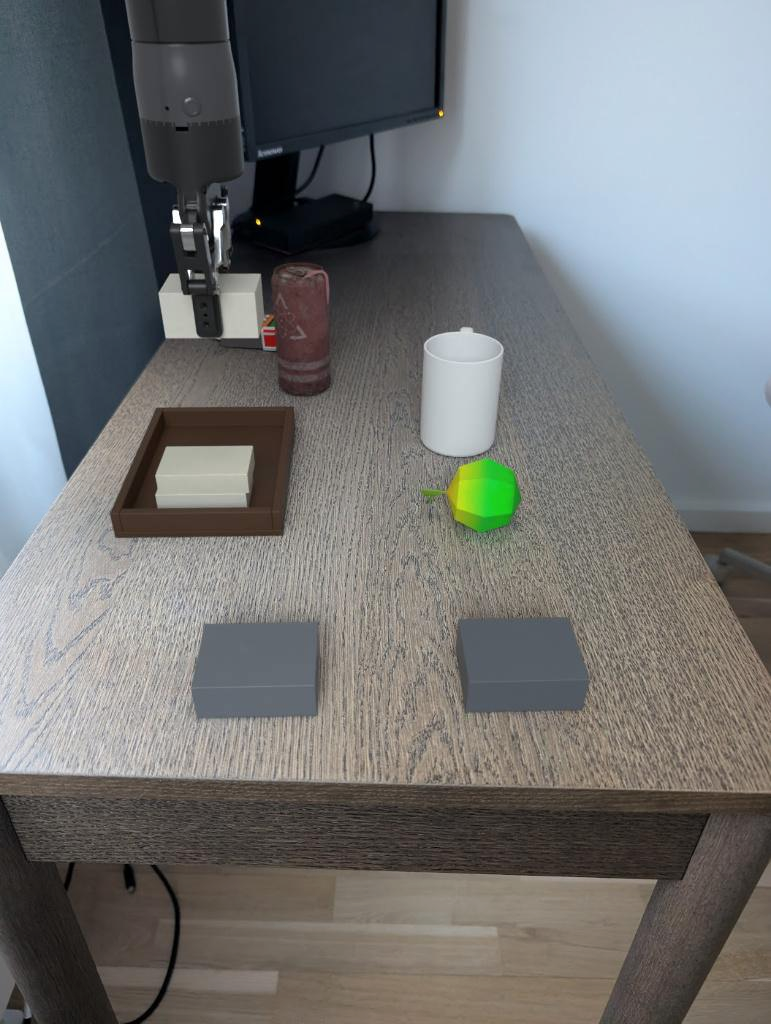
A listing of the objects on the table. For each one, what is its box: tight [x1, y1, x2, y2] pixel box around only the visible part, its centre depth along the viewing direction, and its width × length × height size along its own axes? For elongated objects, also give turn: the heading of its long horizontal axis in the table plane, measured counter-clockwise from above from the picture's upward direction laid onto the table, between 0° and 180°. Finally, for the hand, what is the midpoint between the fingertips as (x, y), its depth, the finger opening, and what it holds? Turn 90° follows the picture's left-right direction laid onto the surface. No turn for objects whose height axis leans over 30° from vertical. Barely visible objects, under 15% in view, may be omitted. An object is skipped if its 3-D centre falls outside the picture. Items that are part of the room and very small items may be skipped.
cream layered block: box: [155, 446, 255, 508], centre depth 71 cm, size 8×5×4 cm, turn 92°
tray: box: [109, 405, 296, 539], centre depth 75 cm, size 15×20×3 cm
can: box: [270, 262, 331, 397], centre depth 88 cm, size 6×6×14 cm
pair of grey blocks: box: [190, 616, 591, 719], centre depth 54 cm, size 26×6×3 cm, turn 92°
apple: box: [420, 457, 523, 534], centre depth 69 cm, size 7×6×9 cm
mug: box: [419, 326, 505, 458], centre depth 81 cm, size 12×8×10 cm, turn 172°
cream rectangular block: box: [158, 273, 265, 339], centre depth 68 cm, size 8×5×4 cm, turn 92°
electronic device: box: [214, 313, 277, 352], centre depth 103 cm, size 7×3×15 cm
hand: (215, 322), depth 68 cm, fingers closed on cream rectangular block, 5 cm apart
